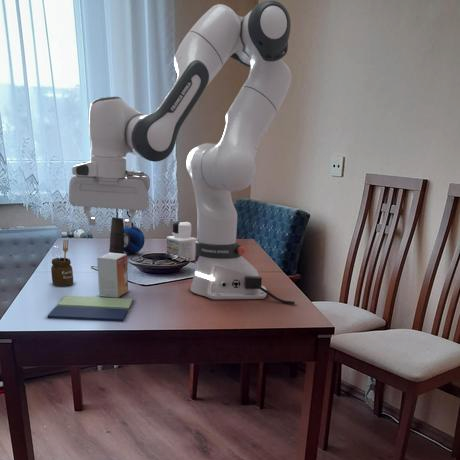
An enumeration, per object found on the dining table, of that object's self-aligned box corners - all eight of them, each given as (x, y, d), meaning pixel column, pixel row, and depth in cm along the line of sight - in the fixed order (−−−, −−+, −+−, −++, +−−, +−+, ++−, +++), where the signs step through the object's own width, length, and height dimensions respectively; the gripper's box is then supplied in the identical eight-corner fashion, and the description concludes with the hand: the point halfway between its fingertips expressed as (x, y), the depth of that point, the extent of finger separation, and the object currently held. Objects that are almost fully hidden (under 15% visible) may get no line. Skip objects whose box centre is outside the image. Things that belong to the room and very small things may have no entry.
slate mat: (127, 311, 141) (127, 309, 141) (122, 321, 134) (122, 319, 133) (56, 308, 140) (56, 306, 140) (47, 318, 133) (47, 315, 133)
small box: (118, 298, 150) (116, 259, 146) (98, 296, 151) (96, 257, 146) (128, 291, 157) (127, 253, 153) (110, 289, 158) (108, 251, 154)
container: (166, 258, 198) (166, 220, 192) (182, 256, 203) (183, 219, 197) (180, 262, 193) (180, 224, 187) (196, 260, 198) (197, 222, 192)
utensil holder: (48, 285, 159) (43, 242, 153) (60, 280, 164) (57, 238, 159) (66, 287, 157) (62, 244, 152) (78, 282, 163) (75, 240, 157)
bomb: (110, 254, 199) (108, 210, 192) (127, 249, 208) (125, 207, 202) (134, 257, 196) (132, 213, 189) (149, 252, 205) (149, 210, 198)
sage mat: (132, 301, 149) (132, 298, 149) (128, 309, 142) (128, 307, 142) (65, 297, 149) (65, 295, 148) (57, 306, 141) (57, 304, 141)
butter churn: (125, 268, 181) (122, 176, 169) (98, 265, 183) (93, 174, 170) (135, 262, 190) (133, 174, 177) (108, 260, 191) (104, 172, 178)
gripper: (151, 171, 143) (151, 226, 149) (71, 165, 142) (74, 221, 148) (148, 173, 137) (148, 230, 144) (65, 167, 136) (68, 225, 143)
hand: (110, 226), depth 146 cm, fingers open, 8 cm apart
